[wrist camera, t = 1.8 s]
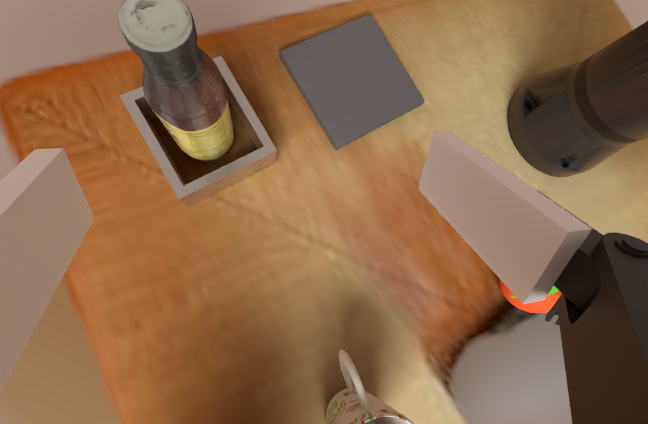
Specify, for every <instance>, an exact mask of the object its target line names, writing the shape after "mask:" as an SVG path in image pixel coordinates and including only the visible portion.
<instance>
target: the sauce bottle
mask: <svg viewBox="0 0 648 424" xmlns="http://www.w3.org/2000/svg"><path fill="white" fill-rule="evenodd" d="M118 22H119V26H120V28H121V31H122V33H123V35H124V37H125V39H126V41H127V43H128V45H129V46H130V47H131V49H132V50H133V51H134V52H135V53H136V54H137V55H138V56H139V57H140V58H141V60H142V63H143V65H144V78H143V91H144V95H145V98H146V100H147V102H148V104H149V105H150V107H151V108H152V110H153V111H154V113H155V114H156V115H157V117H158V118H159V119H160V121H161V122H162V123H163V125H164V126H165V128H166V129H167V131H168V132H169V133H170V134H171V136H172V137H173V139H174V140H175V141H176V143H177V144H178V145H179V147H180V148H181V149H182V150H183V151H184V152H185V153H186V154H187V155H189V156H191V157H193V158H195V159H198V160H200V161H204V162H210V161H214V160H217V159H219V158H221V157H223V156H225V155H226V154H227V153H228V152H229V150H230V148H231V146H232V142H233V138H234V133H233V124H232V118H231V113H230V108H229V103H228V98H227V93H226V89H225V86H224V83H223V78H222V75H221V73H220V71H219V68H218V66H217V65H216V64H215V62H214V61H213V60H212V59H211V58H210V57H209V56H208V55H207V54H206V53H205V52H203V50H201V49H200V48H199V47H198V45H197V33H196V28H195V24H194V20H193V17H192V14H191V12H190V10H189V8H188V7H187V5H186V4H185V3H184V2H183V1H182V0H126V1H125V2H124V3H123V5H122V6H121V8H120V12H119V14H118Z"/></svg>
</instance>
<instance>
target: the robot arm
mask: <svg viewBox="0 0 648 424" xmlns="http://www.w3.org/2000/svg"><path fill="white" fill-rule="evenodd" d="M508 126H509V131H510V134H511V137H512V140H513V142H514V144H515V146H516V148H517V150H518V151H519V153H520V154H521V155H522V156H523V158H524V159H525V160H526V161H527V162H528V163H529V164H530V165H532V166H533V167H534V168H536V169H537V170H539V171H541V172H543V173H545V174H548V175H551V176H556V177H567V176H571V175H575V174H578V173H582V172H585V171H588V170H590V169H592V168H594V167H595V166H597V165H598V164H600V163H601V162H603V161H604V160H605V159H607V158H608V157H610V156H611V155H613V154H614V153H616V152H617V151H619V150H620V149H622V148H623V147H624V146H626V145H627V144H630V143H632V142H635V141H638V140H641V139H644V138H648V21H647V22H645V23H644V24H642V25H640V26H639V27H637V28H636V29H634V30H632V31H631V32H629V33H627V34H626V35H624V36H623V37H621V38H619V39H618V40H616V41H615V42H613V43H611V44H610V45H608V46H606V47H605V48H603V49H602V50H600V51H599V52H597V53H596V54H594V55H592V56H591V57H589V58H587V59H586V60H584V61H582V62H579V63H576V64H572V65H569V66H566V67H562V68H559V69H556V70H552V71H549V72H546V73H543V74H540V75H538V76H536V77H534V78H533V79H531V80H530V81H528V82H527V83H525V84H524V85H523V86H521V87H520V88H519V89H518V90H517V91H516V93H515V94H514V96H513V97H512V99H511V102H510V105H509V109H508ZM418 189H419V190H420V191H421V193H422V194H423V195H424V196H425V197H426V198H427V199H428V200H429V201H430V202H431V204H432V205H433V206H434V207H435V208H436V209H437V210H438V211H439V212H440V213H441V215H442V216H443V217H444V218H445V219H446V220H447V221H448V222H449V223H450V224H451V226H452V227H453V228H454V229H455V230H456V231H457V232H458V233H459V234H460V236H461V237H462V238H463V239H464V240H465V241H466V242H467V243H468V244H469V245H470V247H471V248H472V249H473V250H474V251H475V252H476V253H477V254H478V255H479V256H480V258H481V259H482V260H483V261H484V262H485V263H486V264H487V265H488V266H489V267H490V269H491V270H492V271H493V272H494V273H495V274H496V275H497V276H498V277H499V278H500V280H501V281H502V282H503V283H504V284H505V285H506V286H507V287H508V288H509V289H510V291H511V292H512V293H513V294H514V295H515V296H516V297H517V298H518V299H519V300H520V302H521V303H522V304H527V303H532V302H538V301H543V300H544V299H545V298H546V297H547V295H548V294H549V292H550V291H551V289H552V288H553V286H555V287H556V288H557V289H558V290H559V291H560V292H561V293H562V294H561V295H560V297H559V298H558V300H557V301H556V302H555V304H554V305H553V307H552V308H551V309H550V311H549V312H548V314H547V315H546V319H545V320H546V321H550V320H551V319H552V317H553V316H554V315H558V316H559V319H558V320H557V321H556V323H555V324H557V325H560V332H561V339H562V347H563V355H564V362H565V370H566V377H567V385H568V393H569V401H570V408H571V416H572V423H573V424H648V243H646V242H644V241H642V240H640V239H638V238H635V237H632V236H629V235H626V234H621V233H607V234H605V235H602V234H600V233H599V232H598V231H596V230H595V229H593V228H592V227H590V226H589V225H587V224H586V223H584V222H583V221H582V220H580V219H579V218H577V217H576V216H574V215H573V214H571V213H570V212H568V211H567V210H565V209H563V208H562V207H561V206H560V205H558V204H557V203H555V202H553V201H552V200H551V199H549V198H548V197H547V196H545V195H544V194H542V193H541V192H539V191H537V190H535V189H534V188H532V187H531V186H530V185H528V184H527V183H525V182H524V181H522V180H521V179H519V178H518V177H516V176H515V175H514V174H512V173H511V172H509V171H508V170H506V169H505V168H503V167H502V166H501V165H499V164H498V163H496V162H495V161H493V160H492V159H490V158H489V157H487V156H486V155H485V154H483V153H482V152H480V151H479V150H477V149H476V148H474V147H473V146H471V145H470V144H469V143H467V142H466V141H464V140H463V139H461V138H460V137H458V136H457V135H455V134H454V133H453V132H451V131H433V134H432V138H431V142H430V146H429V150H428V153H427V157H426V161H425V165H424V169H423V173H422V177H421V180H420V184H419V188H418ZM93 219H94V217H93V214H92V212H91V210H90V208H89V205H88V203H87V201H86V199H85V196H84V194H83V192H82V189H81V187H80V185H79V183H78V180H77V178H76V176H75V174H74V171H73V169H72V167H71V165H70V162H69V160H68V158H67V156H66V153H65V151H64V149H63V148H56V149H35V150H34V151H33V152H32V153H31V154H29V155H28V156H27V157H26V158H25V159H24V160H23V161H22V162H21V163H20V164H19V165H18V166H16V167H15V168H14V169H13V170H12V171H11V172H10V173H9V174H8V175H7V176H6V177H5V178H3V179H2V180H1V181H0V394H1V392H2V390H3V388H4V386H5V384H6V383H7V381H8V379H9V377H10V375H11V373H12V371H13V369H14V368H15V366H16V364H17V362H18V360H19V358H20V356H21V354H22V352H23V351H24V349H25V347H26V345H27V343H28V341H29V339H30V337H31V335H32V334H33V332H34V330H35V328H36V326H37V324H38V323H39V321H40V319H41V317H42V315H43V313H44V311H45V309H46V308H47V306H48V304H49V302H50V300H51V298H52V296H53V294H54V293H55V291H56V289H57V287H58V285H59V283H60V281H61V279H62V278H63V276H64V274H65V272H66V270H67V268H68V266H69V264H70V263H71V261H72V259H73V257H74V255H75V253H76V251H77V249H78V248H79V246H80V244H81V242H82V240H83V238H84V236H85V234H86V233H87V231H88V229H89V227H90V225H91V223H92V221H93Z"/></svg>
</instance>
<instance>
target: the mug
mask: <svg viewBox="0 0 648 424" xmlns="http://www.w3.org/2000/svg"><path fill="white" fill-rule="evenodd" d="M338 355H339V356H338V357H339V362H340V368H341V372H342V374H343V377H344V379H345V382H346V385H347V387H348V388H346V389H343V390H341V391H340V392H338V393H337V394H336V395H335V396H334V397H333V398H332V400H331V401H330V403H329V405H328V407H327V411H326V419H325V420H326V424H414V423H413V422H412V421H410V420H409V419H408V418H406V417H405V416H403V415H402V414H400V413H399V412H397V411H396V410H394V409H393V408H391V407H390V406H388V405H387V404H385V403H384V402H382V401H381V400H379V399H378V398H376V397H375V396H373V395H372V394H370V393H369V392H367V391H366V390H364V387H363V384H362V381H361V379H360V376H359V374H358V372H357V370H356V368H355V366H354V364H353V362H352V360H351V358H350V357H349V355H348V354H347V352H346V351H344V350H340V351H339V354H338ZM350 376H351V377H350ZM351 379H352V381H353V384H354V386H355V387H353V385H352V381H351Z"/></svg>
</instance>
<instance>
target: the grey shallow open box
mask: <svg viewBox="0 0 648 424" xmlns="http://www.w3.org/2000/svg"><path fill="white" fill-rule="evenodd" d="M212 60H213V61H214V62H215V64H216V65H217V66H218V68H219V71H220V73H221V75H222V78H223V83H224V86H225V89H226V93H227V98H228V100H229V102H230V104H231V105H232V107H233V109H234V111H235V112H236V114H237V116H238V117H239V119H240V121H241V122H242V124H243V126H244V128H245V129H246V131H247V133H248V134H249V136H250V138H251V140H252V141H253V143H254V145H255V146H256V148H257V150H256V151H254V152H251V153H249V154H247V155H245V156H243V157H241V158H239V159H237V160H235V161H233V162H231V163H229V164H227V165H225V166H223V167H221V168H219V169H217V170H215V171H213V172H211V173H209V174H207V175H205V176H203V177H201V178H198V179H196V180H194V181H192V182H190V183H188V184H185V182H184V180H183V178H182V177H181V175H180V173H179V171H178V170H177V168H176V166H175V164H174V163H173V161H172V159H171V157H170V156H169V154H168V152H167V150H166V149H165V147H164V145H163V143H162V142H161V140H160V138H159V136H158V135H157V133H156V131H155V129H154V128H153V126H152V124H151V122H150V121H149V120H150V119H152V118H155V117H157V115H156V114H155V113H154V111H153V110H152V108H151V107H150V105H149V104H148V102H147V100H146V98H145V95H144V91H143V87H140V88H138V89H135V90H133V91H130V92H128V93H125V94H123V95H120V98H121V99H122V101H123V103H124V105H125V106H126V108H127V110H128V112H129V113H130V115H131V117H132V119H133V120H134V122H135V124H136V126H137V127H138V129H139V131H140V133H141V134H142V136H143V138H144V140H145V141H146V143H147V145H148V147H149V148H150V150H151V152H152V154H153V155H154V157H155V159H156V161H157V162H158V164H159V166H160V168H161V169H162V171H163V173H164V175H165V176H166V178H167V180H168V182H169V183H170V185H171V187H172V189H173V190H174V192H175V194H176V196H177V197H178V199H179V200H180V201H181V202H182V203H184V204H185V205H186V206H187V207H190V206H192V205H194V204H196V203H198V202H200V201H202V200H204V199H206V198H208V197H210V196H212V195H214V194H216V193H218V192H220V191H222V190H224V189H226V188H228V187H230V186H231V185H233V184H235V183H237V182H239V181H241V180H243V179H245V178H247V177H249V176H251V175H253V174H255V173H257V172H259V171H261V170H263V169H265V168H267V167H269V166H271V165H273V164H275V160H276V154H277V149H276V148H275V146H274V144H273V143H272V141H271V139H270V137H269V136H268V134H267V132H266V131H265V129H264V127H263V126H262V124H261V122H260V121H259V119H258V117H257V115H256V114H255V112H254V110H253V109H252V107H251V105H250V104H249V102H248V100H247V99H246V97H245V95H244V93H243V92H242V90H241V88H240V87H239V85H238V83H237V82H236V80H235V78H234V76H233V75H232V73H231V71H230V70H229V68H228V66H227V65H226V63H225V61H224V60H223V58H222V56H218V57H216V58H213V59H212Z"/></svg>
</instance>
